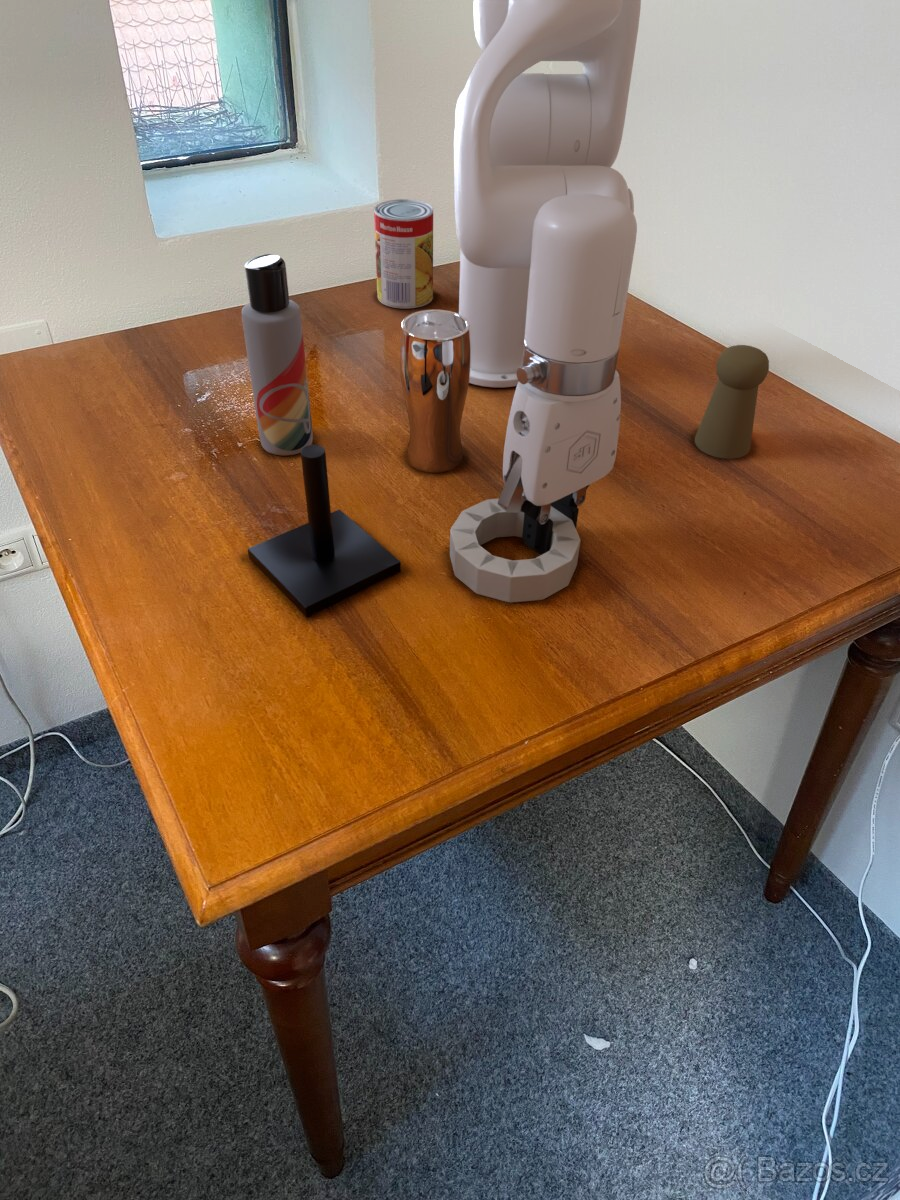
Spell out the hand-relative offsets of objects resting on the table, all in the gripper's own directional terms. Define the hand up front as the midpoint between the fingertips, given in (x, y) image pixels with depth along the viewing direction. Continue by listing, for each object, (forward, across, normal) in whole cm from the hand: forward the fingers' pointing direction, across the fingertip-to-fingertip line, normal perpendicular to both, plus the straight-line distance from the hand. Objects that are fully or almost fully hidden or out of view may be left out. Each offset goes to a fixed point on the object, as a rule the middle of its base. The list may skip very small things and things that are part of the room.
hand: (548, 540), depth 83 cm
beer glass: (0, 0, +18) cm, 18 cm away
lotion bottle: (0, -11, +30) cm, 32 cm away
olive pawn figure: (0, +27, +1) cm, 27 cm away
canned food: (0, +22, +53) cm, 58 cm away
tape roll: (0, -4, 0) cm, 4 cm away
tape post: (0, -19, +10) cm, 21 cm away
